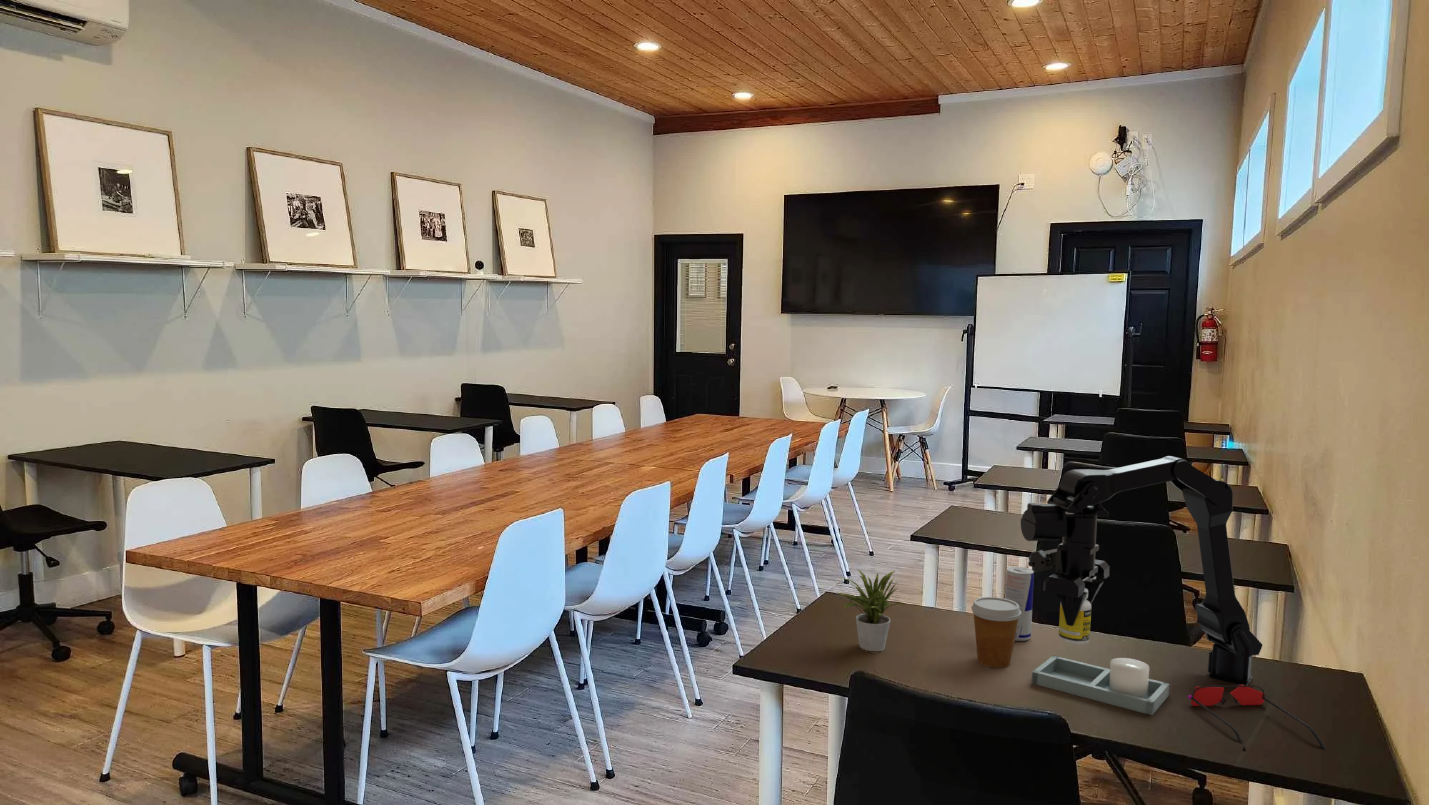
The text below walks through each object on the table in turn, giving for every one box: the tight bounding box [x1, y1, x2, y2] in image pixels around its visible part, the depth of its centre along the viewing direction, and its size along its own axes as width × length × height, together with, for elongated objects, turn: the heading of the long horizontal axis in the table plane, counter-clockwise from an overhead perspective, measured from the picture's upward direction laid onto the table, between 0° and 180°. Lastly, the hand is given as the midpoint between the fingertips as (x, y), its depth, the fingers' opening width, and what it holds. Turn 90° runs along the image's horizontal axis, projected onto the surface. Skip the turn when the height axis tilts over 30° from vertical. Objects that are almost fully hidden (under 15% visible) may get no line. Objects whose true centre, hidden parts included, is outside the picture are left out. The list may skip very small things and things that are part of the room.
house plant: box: [837, 568, 903, 652], centre depth 194 cm, size 14×14×16 cm
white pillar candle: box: [1109, 657, 1150, 699], centre depth 168 cm, size 6×6×6 cm
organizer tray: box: [1031, 655, 1170, 716], centre depth 172 cm, size 21×11×3 cm, turn 50°
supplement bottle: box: [1058, 588, 1092, 645], centre depth 174 cm, size 5×5×10 cm
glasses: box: [1187, 684, 1327, 752], centre depth 158 cm, size 14×16×5 cm
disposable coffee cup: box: [971, 596, 1021, 669], centre depth 186 cm, size 10×10×12 cm
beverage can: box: [1004, 566, 1035, 642], centre depth 200 cm, size 6×6×15 cm
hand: (1075, 621), depth 174 cm, fingers closed on supplement bottle, 5 cm apart
